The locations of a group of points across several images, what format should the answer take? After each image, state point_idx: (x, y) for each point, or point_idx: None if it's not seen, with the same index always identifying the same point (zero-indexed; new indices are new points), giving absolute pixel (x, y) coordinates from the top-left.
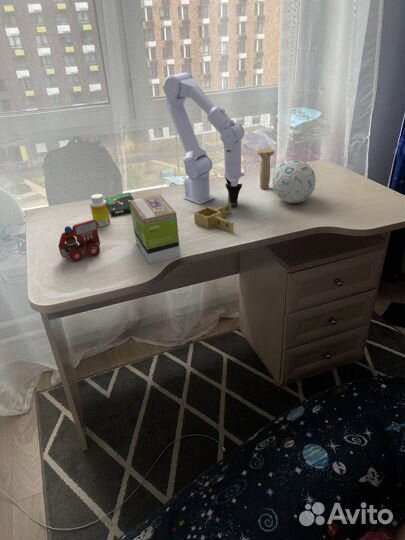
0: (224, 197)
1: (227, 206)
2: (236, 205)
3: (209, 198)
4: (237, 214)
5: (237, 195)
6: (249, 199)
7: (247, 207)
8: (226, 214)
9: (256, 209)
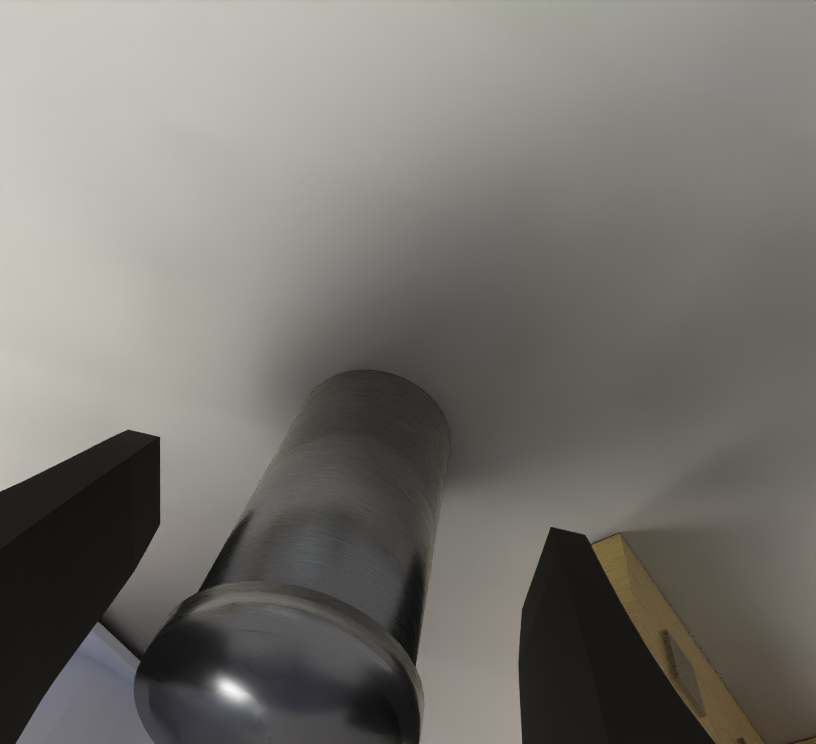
0: (23, 457)
1: (687, 703)
2: (434, 423)
3: (96, 657)
4: (725, 470)
5: (649, 674)
6: (128, 75)
7: (504, 230)
8: (670, 612)
9: (671, 76)
